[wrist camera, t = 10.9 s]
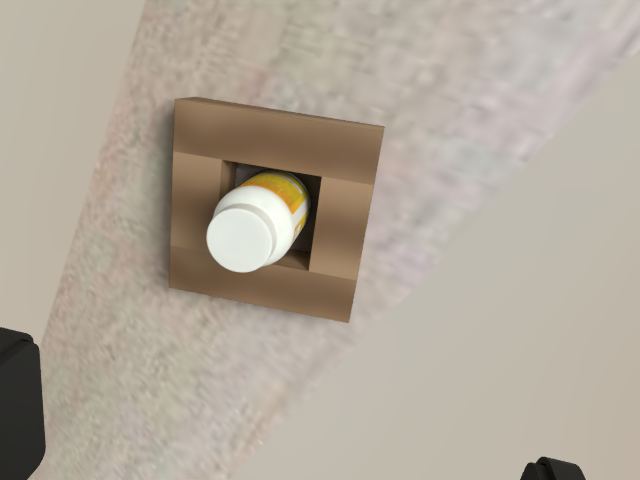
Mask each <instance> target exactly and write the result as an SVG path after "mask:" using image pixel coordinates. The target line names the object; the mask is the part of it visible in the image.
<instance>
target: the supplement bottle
mask: <svg viewBox="0 0 640 480" xmlns="http://www.w3.org/2000/svg"><path fill="white" fill-rule="evenodd" d="M310 210H311V202H310V196H309V193H308V191H307V189H306V187H305V186H304V184H303V183H302V182H301V181H300V180H299V179H298V178H297V177H295V176H294V175H292V174H291V173H289V172H286V171H283V170H278V169H271V170H265V171H262V172H260V173H258V174H256V175H255V176H253V177H252V178H250V179H248V180H247V181H246V182H244V183H243V184H241V185H240V186H238V187H236V188H235V189H233V190H232V191H230V192H229V193H227V194H226V195H225V196H224V197H223V198H222V199H221V200H220V202H219V203H218V205H217V207H216V209H215V211H214V215H213V219H212V221H211V222H210V224H209V226H208V229H207V236H206V239H207V245H208V248H209V251H210V253H211V255H212V256H213V258H214V259H215V260H216V261H217V262H218V263H219V264H220V265H221V266H223V267H224V268H226V269H228V270H231V271H234V272H241V273H245V272H251V271H254V270H256V269H258V268H260V267H262V266H267V265H270V264H272V263H274V262H276V261H278V260H279V259H280V258H282V257H283V256H284V255H285V254H286V252H287V251H288V250H289V248H290V247H291V245H292V244H293V242H294V241H295V239H296V238H297V236H298V235H299V233H300V232H301V230H302V229H303V227H304V225H305V224H306V222H307V220H308V218H309V215H310Z"/></svg>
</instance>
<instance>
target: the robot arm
mask: <svg viewBox="0 0 640 480" xmlns="http://www.w3.org/2000/svg"><path fill="white" fill-rule="evenodd" d="M45 448H46V445H45V430H44V415H43V399H42V384H41V369H40V354H39V347H38V346H37V345H36V344H34V342H33V338H32V337H31V335H29V334H27V333H23V332H18V331H14V330H9V329H5V328H2V327H1V328H0V480H27V479H28V478H29V477H30V476H31V474H32V473H33V472H34V471H35V470H36V469H37V467H38V466H39V465H40V463H41V461H42V459H43V457H44V454H45ZM520 480H586V479H585V477H584V475H583V473H582V471H581V469H580V468H579V466H577V465H576V464H572V463H569V462H564V461H560V460H556V459H551V458H547V457H541V458H539V459H538V461H537V462H536V463H528V464H527V466H526V467H525V470H524V472H523V474H522V477H521V479H520Z"/></svg>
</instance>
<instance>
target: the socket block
mask: <svg viewBox="0 0 640 480" xmlns="http://www.w3.org/2000/svg"><path fill="white" fill-rule="evenodd" d="M383 132H384V127H383V126H377V125H370V124H364V123H358V122H351V121H345V120H339V119H332V118H326V117H320V116H313V115H307V114H301V113H294V112H288V111H282V110H275V109H269V108H263V107H256V106H250V105H244V104H237V103H231V102H225V101H218V100H212V99H206V98H199V97H190V98H181V99H175V109H174V141H173V173H172V204H171V236H170V268H169V287H170V288H175V289H180V290H185V291H190V292H195V293H200V294H205V295H210V296H215V297H220V298H225V299H230V300H235V301H240V302H245V303H250V304H255V305H260V306H265V307H270V308H276V309H281V310H286V311H291V312H296V313H301V314H306V315H311V316H316V317H321V318H326V319H331V320H336V321H341V322H346V323H349V319H350V314H351V309H352V304H353V298H354V293H355V287H356V282H357V276H358V271H359V265H360V260H361V254H362V249H363V243H364V237H365V232H366V226H367V221H368V215H369V210H370V204H371V199H372V193H373V188H374V182H375V177H376V171H377V166H378V160H379V155H380V149H381V143H382V138H383ZM237 162H239V163H245V164H250V165H256V166H262V167H268V168H274V169H280V170H286V171H292V172H298V173H303V174H309V175H315V176H321V177H322V180H321V187H320V194H319V201H318V208H317V215H316V222H315V229H314V236H313V243H312V251H311V253H307V252H301V251H296V250H291V249H289V250H288V251H287V252H286V254H285V255H284V256H283V257H282V258H280V259H279V260H278V261H276V262H274V263H272V264H270V265H267V266H262V267H260V268H258V269H256V270H254V271H251V272H245V273H241V272H234V271H231V270H228V269H226V268H224V267H223V266H221V265H220V264H219V263H218V262H217V261H216V260H215V259H214V258H213V256H212V255H211V253H210V251H209V248H208V245H207V239H206V236H207V229H208V226H209V224H210V222H211V221H212V219H213V215H214V211H215V209H216V207H217V205H218V203H219V202H220V200H221V199H222V198H223V197H224V196H225V195H226V194H227V193H229V192H230V191H232V190H233V189H235V179H236V166H237Z"/></svg>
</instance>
